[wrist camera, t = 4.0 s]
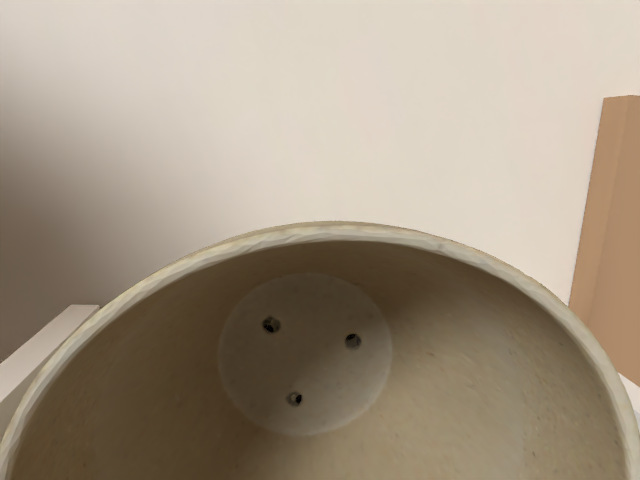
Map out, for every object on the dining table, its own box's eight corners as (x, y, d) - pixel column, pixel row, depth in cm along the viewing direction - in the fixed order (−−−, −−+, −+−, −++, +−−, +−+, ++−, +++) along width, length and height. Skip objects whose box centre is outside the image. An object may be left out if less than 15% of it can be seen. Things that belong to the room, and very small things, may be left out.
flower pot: (516, 400, 15) (723, 629, 8) (239, 541, 15) (210, 881, 8) (385, 111, 13) (516, 86, 6) (59, 282, 13) (-191, 455, 6)
